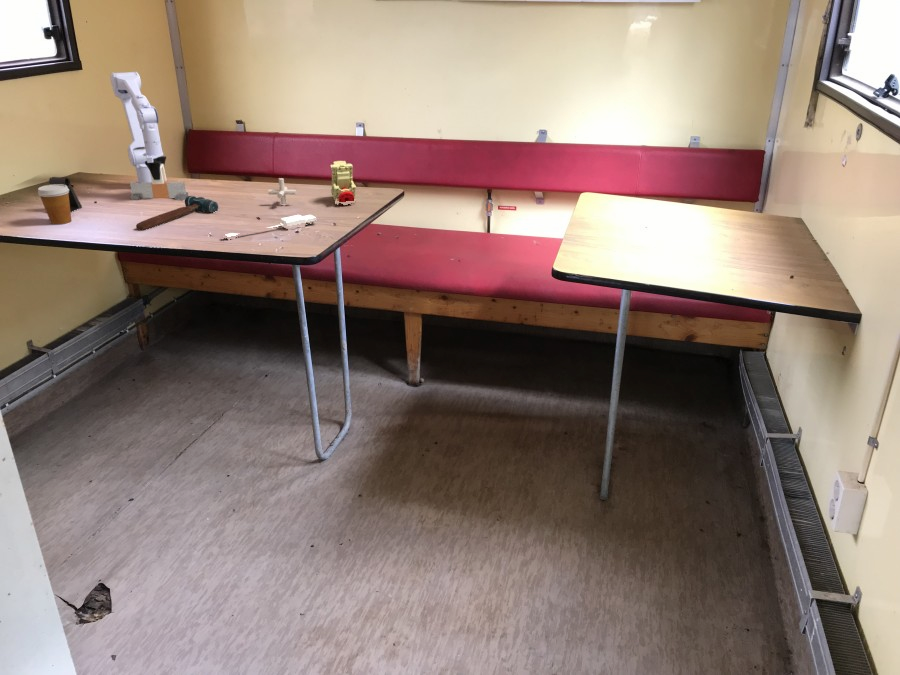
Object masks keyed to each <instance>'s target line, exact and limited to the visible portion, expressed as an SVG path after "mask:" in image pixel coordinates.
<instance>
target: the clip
mask: <svg viewBox="0 0 900 675" xmlns="http://www.w3.org/2000/svg"><path fill="white" fill-rule="evenodd" d="M150 175H151V180H152V184H164V182H168V181H167V180H168V179H167V175H166V170H165V165H163V164H161V165H160V180H154V179H153V177H152V174H151V172H150Z"/></svg>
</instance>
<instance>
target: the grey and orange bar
mask: <svg viewBox="0 0 900 675" xmlns="http://www.w3.org/2000/svg"><path fill="white" fill-rule="evenodd" d="M129 185H130V188H131V189H130V191H131V195H130V200H131V201H140V199H153V198H175V199H174V200H175V201H185V199H186V197H188V196H189V191H187V190H186V185H185V181H164V184H152V182H138V181H131V182H130V183H129Z"/></svg>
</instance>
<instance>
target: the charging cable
mask: <svg viewBox="0 0 900 675" xmlns="http://www.w3.org/2000/svg"><path fill="white" fill-rule="evenodd" d="M315 220H316V221H317V217H316V216H314V215H312V214H307V215H301V214H294V215H291V216H287V217H286V216H285V217H282V218H280V223H279V224H276V225H273V226H269V227H266V228H272V229H274V228H273V227H277V228H279V227H278V226H292V225H297V224H301V223H306V222H310V221H315ZM238 234H239V233H237V232H235V233H234V232H229V233H226V234H224V237H225V236H227V237H231V236H236V235H238Z"/></svg>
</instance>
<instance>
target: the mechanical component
mask: <svg viewBox="0 0 900 675" xmlns="http://www.w3.org/2000/svg"><path fill="white" fill-rule="evenodd" d="M332 163H333V164H330V170H331V189H330V193H331V196H332V197H333V200H335V201H336V200H337V201H339V202H346V201H354V199H355V200H356V190H357V186H356V184H355V183H354V181H353V178H354V176H353V174H354V172H353V171H354V167H353V164H352V163H347V162H346V160H336V161H333V162H332Z"/></svg>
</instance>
